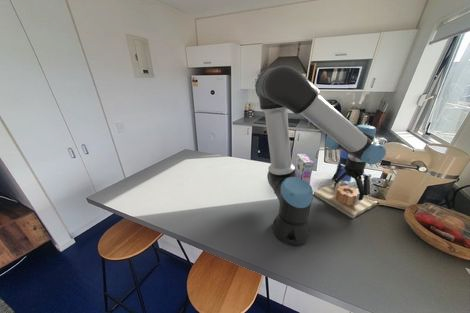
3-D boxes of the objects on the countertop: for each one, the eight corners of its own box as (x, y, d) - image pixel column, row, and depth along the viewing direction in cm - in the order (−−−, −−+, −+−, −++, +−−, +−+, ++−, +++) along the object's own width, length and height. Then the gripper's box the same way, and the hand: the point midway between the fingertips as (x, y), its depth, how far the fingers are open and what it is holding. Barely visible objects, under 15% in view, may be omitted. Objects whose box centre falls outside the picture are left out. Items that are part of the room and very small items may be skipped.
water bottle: (354, 180, 113) (364, 144, 103) (343, 183, 110) (353, 146, 100) (341, 174, 121) (350, 139, 111) (331, 176, 118) (339, 141, 108)
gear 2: (349, 207, 84) (352, 199, 82) (330, 196, 92) (332, 188, 90) (361, 201, 88) (364, 193, 86) (342, 191, 96) (344, 183, 94)
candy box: (309, 186, 107) (314, 162, 101) (299, 186, 107) (303, 162, 101) (302, 175, 120) (305, 153, 113) (293, 175, 120) (296, 153, 114)
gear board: (352, 218, 82) (356, 204, 79) (313, 194, 100) (316, 182, 97) (379, 203, 92) (384, 190, 89) (340, 183, 110) (343, 172, 107)
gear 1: (352, 197, 93) (355, 189, 91) (332, 191, 99) (334, 183, 97) (355, 189, 100) (358, 181, 98) (336, 183, 106) (338, 176, 104)
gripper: (390, 166, 73) (374, 209, 82) (339, 149, 92) (330, 186, 100) (380, 170, 70) (365, 214, 79) (329, 152, 88) (321, 189, 97)
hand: (345, 198), depth 90 cm, fingers closed on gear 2, 10 cm apart
